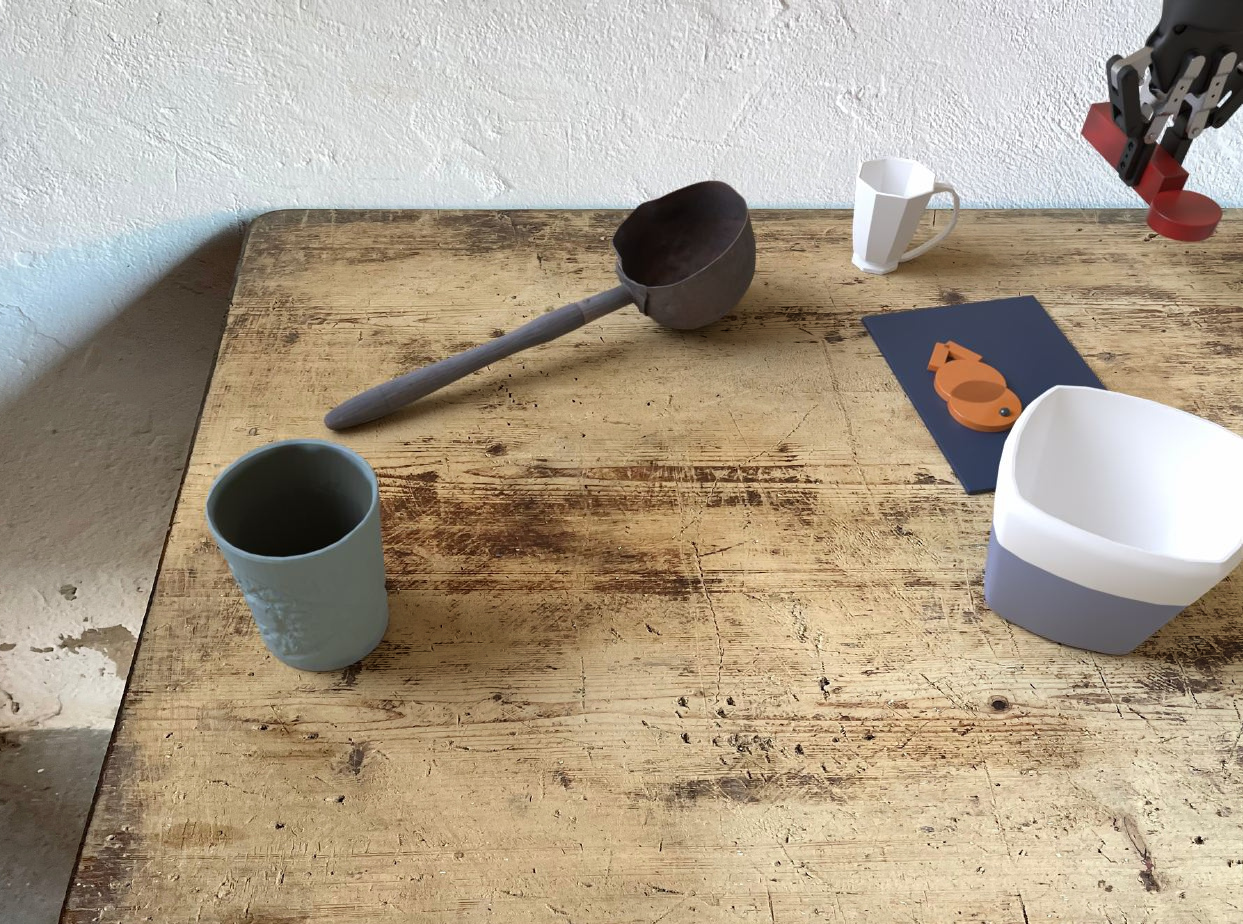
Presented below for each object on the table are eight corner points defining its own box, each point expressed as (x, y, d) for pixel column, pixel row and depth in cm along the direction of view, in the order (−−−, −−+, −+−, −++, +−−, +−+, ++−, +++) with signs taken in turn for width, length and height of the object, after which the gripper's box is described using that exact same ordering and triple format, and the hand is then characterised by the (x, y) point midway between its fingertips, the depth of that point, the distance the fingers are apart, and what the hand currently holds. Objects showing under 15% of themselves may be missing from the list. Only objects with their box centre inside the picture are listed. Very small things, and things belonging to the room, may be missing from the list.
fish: (910, 351, 93) (913, 339, 92) (972, 343, 94) (976, 331, 93) (964, 437, 87) (969, 425, 86) (1031, 427, 88) (1036, 416, 87)
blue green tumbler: (394, 561, 79) (372, 429, 69) (407, 674, 73) (385, 546, 63) (248, 579, 78) (205, 447, 68) (249, 694, 72) (202, 568, 62)
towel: (1031, 298, 99) (1033, 294, 98) (1161, 466, 86) (1164, 462, 85) (860, 320, 96) (861, 316, 96) (967, 495, 84) (969, 491, 83)
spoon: (1063, 135, 96) (1074, 105, 94) (1119, 129, 97) (1131, 98, 95) (1166, 245, 86) (1181, 214, 84) (1227, 238, 87) (1243, 206, 85)
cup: (828, 241, 104) (846, 156, 97) (932, 235, 104) (957, 151, 98) (846, 285, 99) (867, 200, 93) (955, 279, 100) (983, 194, 94)
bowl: (984, 484, 84) (1035, 362, 75) (1197, 551, 80) (1277, 431, 71) (931, 625, 76) (981, 506, 67) (1165, 707, 72) (1252, 593, 63)
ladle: (790, 304, 94) (776, 198, 86) (402, 546, 90) (350, 460, 82) (712, 247, 101) (693, 145, 93) (350, 470, 97) (297, 384, 89)
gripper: (1182, -28, 74) (1086, 214, 88) (1368, -46, 76) (1245, 194, 90) (1126, -72, 79) (1043, 165, 93) (1303, -88, 80) (1196, 147, 94)
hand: (1143, 178), depth 91 cm, fingers closed on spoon, 2 cm apart
